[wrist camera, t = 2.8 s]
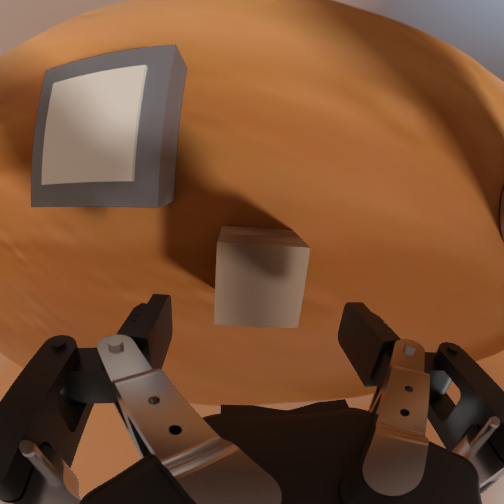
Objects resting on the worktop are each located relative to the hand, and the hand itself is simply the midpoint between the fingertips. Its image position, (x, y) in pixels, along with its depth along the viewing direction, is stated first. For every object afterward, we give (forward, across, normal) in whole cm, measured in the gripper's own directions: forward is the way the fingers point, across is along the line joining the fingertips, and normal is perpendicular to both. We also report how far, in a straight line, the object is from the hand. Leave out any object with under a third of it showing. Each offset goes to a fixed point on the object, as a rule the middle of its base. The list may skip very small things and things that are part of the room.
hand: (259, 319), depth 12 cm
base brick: (+8, +10, -9) cm, 16 cm away
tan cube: (+8, 0, 0) cm, 8 cm away
